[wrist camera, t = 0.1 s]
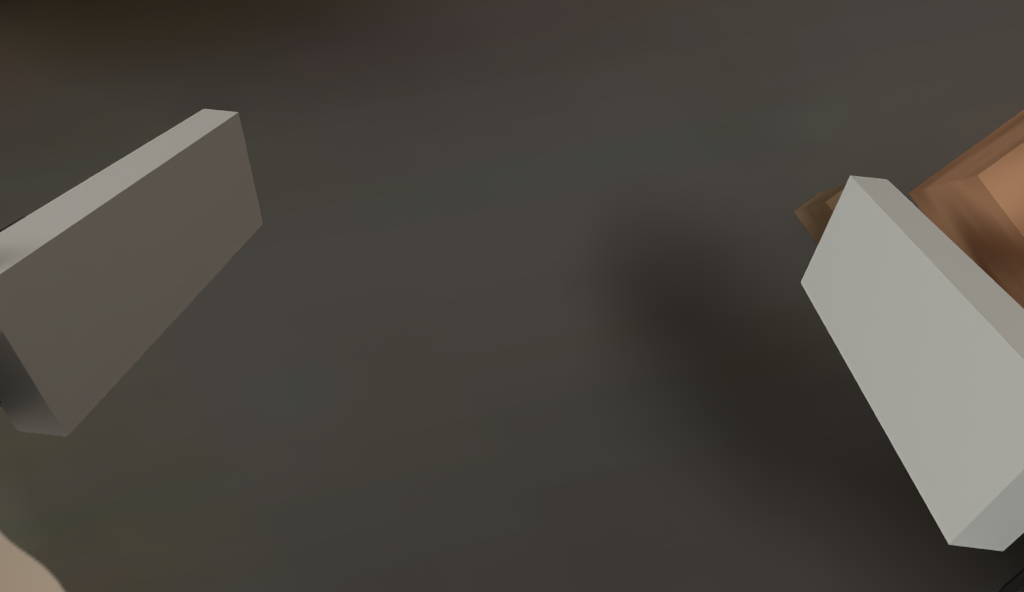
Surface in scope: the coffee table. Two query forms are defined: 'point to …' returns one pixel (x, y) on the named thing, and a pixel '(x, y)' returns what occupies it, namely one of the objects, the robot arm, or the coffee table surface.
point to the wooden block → (984, 204)
